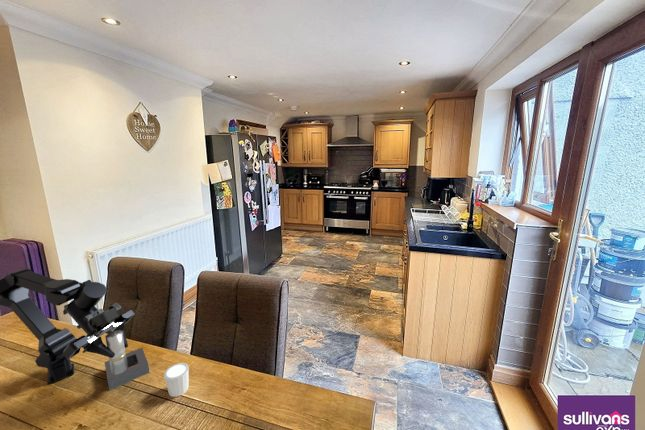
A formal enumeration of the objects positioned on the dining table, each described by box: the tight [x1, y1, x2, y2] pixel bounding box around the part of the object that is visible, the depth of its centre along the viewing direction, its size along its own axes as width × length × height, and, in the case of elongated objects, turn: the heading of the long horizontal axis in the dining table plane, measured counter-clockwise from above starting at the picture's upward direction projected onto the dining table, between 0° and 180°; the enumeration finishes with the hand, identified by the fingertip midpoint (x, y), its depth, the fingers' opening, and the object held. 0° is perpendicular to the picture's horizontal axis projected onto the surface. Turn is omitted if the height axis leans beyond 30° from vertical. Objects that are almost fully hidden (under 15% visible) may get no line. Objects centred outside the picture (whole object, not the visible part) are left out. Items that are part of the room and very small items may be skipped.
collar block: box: [104, 347, 150, 391], centre depth 93 cm, size 11×11×4 cm
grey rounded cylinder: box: [104, 330, 129, 375], centre depth 84 cm, size 4×4×12 cm
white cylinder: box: [163, 362, 190, 398], centre depth 86 cm, size 7×7×7 cm
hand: (120, 351), depth 84 cm, fingers closed on grey rounded cylinder, 4 cm apart
